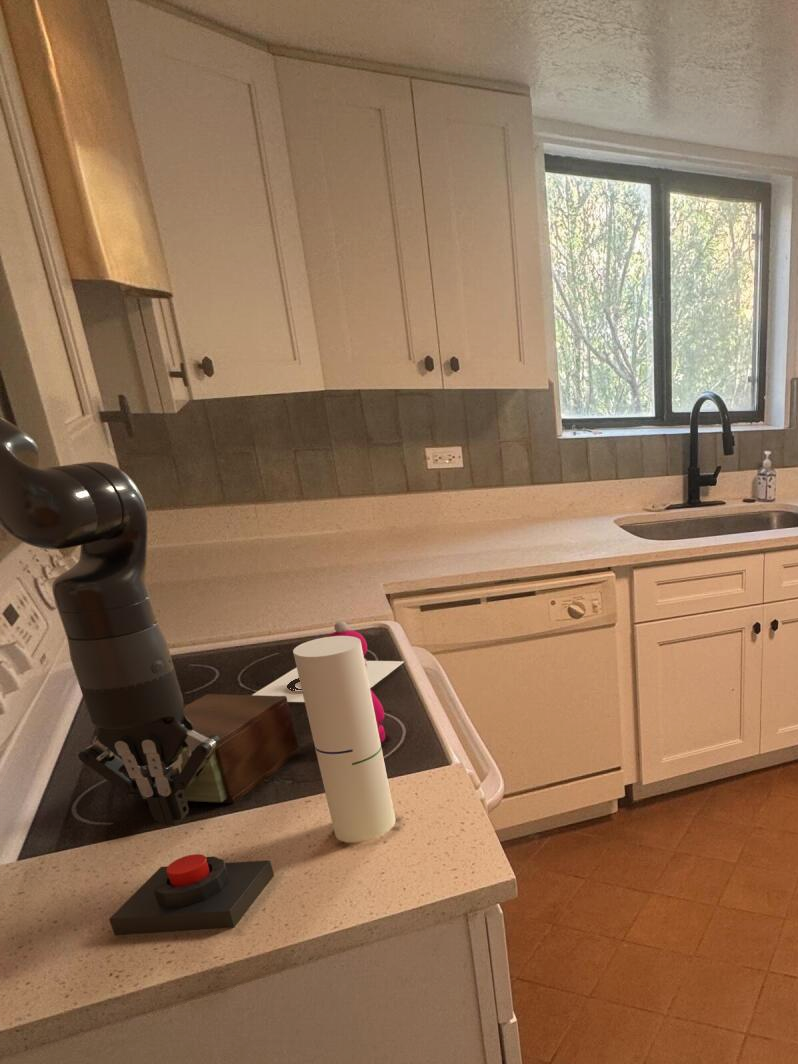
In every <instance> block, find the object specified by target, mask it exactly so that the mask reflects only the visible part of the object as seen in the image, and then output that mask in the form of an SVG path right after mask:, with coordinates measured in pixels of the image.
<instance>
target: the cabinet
mask: <svg viewBox="0 0 798 1064" xmlns="http://www.w3.org/2000/svg"><path fill="white" fill-rule="evenodd" d="M290 710H291V709H290V707H289V702H288V701H287V697H286V696H260V695H253V694H222V693H221V694H219V693H218V694H217V693H206V694H205V695H203V696H201V697H199V698H197V699H195V700H194V701H192V702H189V704H187V705H185V706H184V714H185V716H186V717H187V719H188V720H189V721H190V722H191V723H192V725H193V731H195V732H197V733H199V734H201V735H203V736H205V737H207V738H208V737H209V736H211V735H215V736H217V737H219V739H220V744H219V745H218V747H217V748H216V750H215V754H216V757H217V761H218V764H219V768H220V772H221V775H222V779H223V782H224V786H225V790H226V793H227V797H228V798H227V799H225V800H224V801H223V802H208V803H211V804H213V803H214V804H216V803H217V804H235V803H237V802H238V801H239V800H240V799H242V798H243V797H244V796H245V795H247V794H248V793H249V792H251V791H252V790H253V789H254V788H256V787H257V786H258V785H260V784H261V783H263V782H264V781H265V780H267V779H268V778H269V777H270V776H272V775H273V774H274V773H276V772H277V771H278V770H279V769H281V768H282V767H283V766H285V765H286V764H287V763H288V762H290V761H291V760H292V759H293V758H295V757H297V756H298V755H299V754H300V749H299V745H298V740H297V736H296V735H297V734H296V732H295V728H294V724H293V719H292V715H291V711H290ZM186 745H187V743H186ZM188 802H189V803H203V802H202V801H187V803H188Z"/></svg>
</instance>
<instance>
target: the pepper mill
mask: <svg viewBox="0 0 798 1064" xmlns="http://www.w3.org/2000/svg"><path fill="white" fill-rule="evenodd" d="M331 636H352V637H356V638H358V639H360V640H361V645H362V651H363V656H364V661H365V666H366V669H367V667H368V666H367V664H366V662H367V661H368V660H367V658H365V656H366V654H367V652H368V643H367V641H366V639H365V637H364V636H363V635H362V634H361V633H360V632H357V631H356V630H350V629H349V627H348V624H347V623H346V622H345V621H337V622H336V623H335V624H334V632H332V633H331V634H328V636H327V637H331ZM370 691H371V697H372V702H373V707H374V712H375V717H376V722H377V727H378V732H379V738H380V743H381V744H382V743H383V742H384V741H385V740H386V732H385V727H384V726H383V725H382V723H383V721H384V719H385V709H384V706H383V704H382V703H381V701H380V699H379V698H378V697H377V695H376V694H375V692H374V691H373V690H372V688H370Z"/></svg>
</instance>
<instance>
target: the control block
mask: <svg viewBox="0 0 798 1064" xmlns="http://www.w3.org/2000/svg"><path fill="white" fill-rule="evenodd" d="M205 857H206V859H207V863H208V866H209V869H210V873H209V875H208V876H207V877H205V878H203V879H201V880H200V881H198V882H196V883H193V884H189V885H186V886H179V887H173V886H172V885H171V884H170V880H169V877H168V874H167V871H166V870H167V867H168V866H169V865H168V866H160V867H159V868H158V869H157V870H156V871H155V872H154V873H153V874H152V875H151V876H150V877H149V878H148V879H147V880H146V881H145V882H144V883H143V884H142V885H141V886H140V887H139V888H138V889H137V890H136V891H135V892H134V893H133V894H132V895H131V896H130V897H129V898H128V899H127V900H126V901H125V902H124V903H123V904H122V905H121V906H120V907H119V908H118V909H117V910H116V911H115V912H114V914H112V916H111V917H109V918H108V920H109V924H110V927H111V929H112V932H113V935H114V936H128V935H143V934H144V935H145V934H157V933H158V934H159V933H160V934H161V933H174V932H176V933H177V932H188V931H189V932H190V931H204V930H218V929H219V930H220V929H235V928H236V926H237V925H238V924H239V923H240V921H241V920H242V919H243V917H244V916H245V914H246V913H247V912H248V910H249V909H250V908H251V907H252V905H253V904H254V903H255V901H256V900H257V899H258V897H260V895H261V894H262V892H263V891H264V890H265V888H266V887H267V886H268V885H269V883H270V882H271V881H272V879H273V878H274V877H275V874H274V873H275V872H274V869H273V866H272V861H271V860H270V859H268V860H251V861H249V860H248V861H233V862H232V861H231V862H225V860H224V859H221V858H219V857H216V856H205Z"/></svg>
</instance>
